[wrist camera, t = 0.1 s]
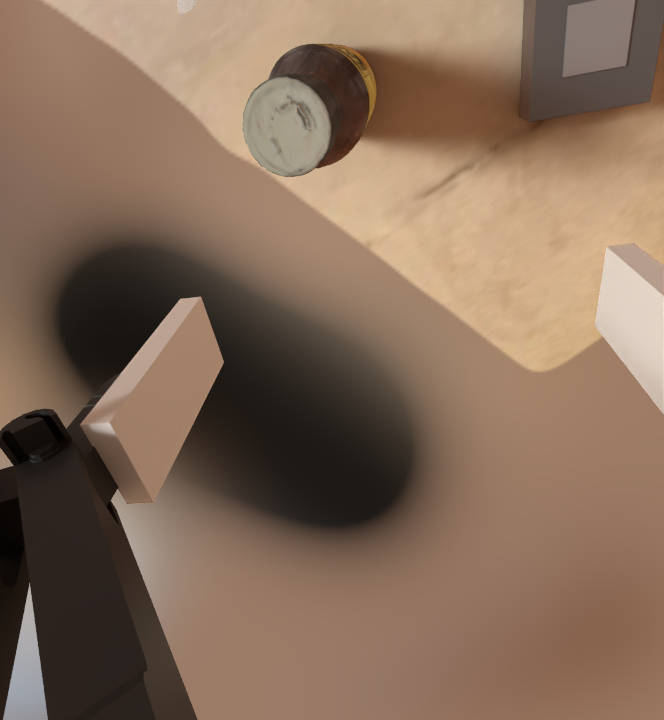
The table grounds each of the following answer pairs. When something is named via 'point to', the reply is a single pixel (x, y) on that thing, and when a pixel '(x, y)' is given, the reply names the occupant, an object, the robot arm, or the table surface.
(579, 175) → the table surface
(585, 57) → the power strip
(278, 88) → the sauce bottle
